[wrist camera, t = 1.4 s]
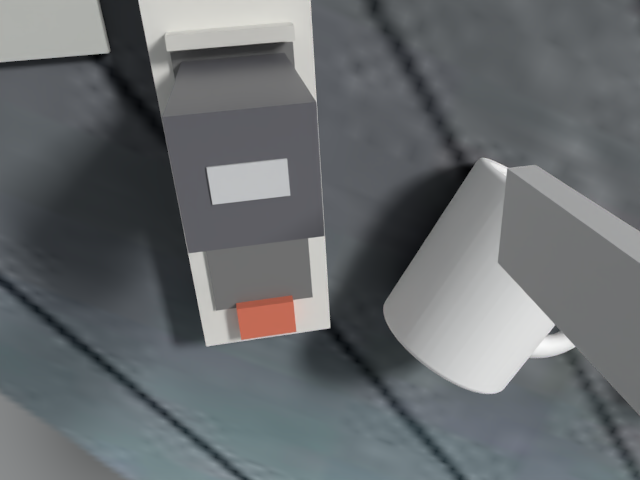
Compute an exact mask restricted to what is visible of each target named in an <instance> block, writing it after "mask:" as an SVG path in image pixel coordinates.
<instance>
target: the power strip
mask: <svg viewBox="0 0 640 480" xmlns="http://www.w3.org/2000/svg"><path fill="white" fill-rule="evenodd" d="M138 2H139V7H140V12H141V17H142V22H143V27H144V32H145V37H146V42H147V47H148V53H149V58H150V63H151V68H152V73H153V78H154V83H155V88H156V93H157V98H158V103H159V108H160V114H161V119H162V115H163V112H164V109H165V106H166V104H167V101H168V98H169V95H170V92H171V90H172V87H173V84H174V81H175V78H176V76H177V73H178V70H179V67H180V64H181V62H183V61H195V60H206V59H217V58H229V57H240V56H252V55H263V54H275V53H285V54H286V56H287V57H288V59H289V60H290V62H291V63H292V65H293V67H294V68H295V70H296V71H297V73H298V74H299V76H300V77H301V79H302V81H303V82H304V84H305V85H306V87H307V88H308V90H309V91H310V93H311V94H312V96H313V98H314V99H315V101H316V105H317V99H316V83H315V67H314V50H313V34H312V18H311V1H310V0H138ZM317 121H318V116H317ZM162 124H163V121H162ZM163 129H164V126H163ZM164 134H165V131H164ZM318 138H319V132H318ZM165 139H166V137H165ZM166 144H167V142H166ZM167 149H168V147H167ZM168 154H169V152H168ZM319 154H320V149H319ZM169 159H170V157H169ZM170 164H171V162H170ZM171 169H172V167H171ZM320 170H321V165H320ZM172 175H173V172H172ZM173 180H174V177H173ZM174 185H175V182H174ZM321 187H322V181H321ZM175 190H176V187H175ZM176 195H177V193H176ZM177 200H178V198H177ZM322 203H323V198H322ZM178 205H179V203H178ZM179 210H180V208H179ZM180 215H181V213H180ZM323 219H324V214H323ZM181 220H182V218H181ZM182 225H183V223H182ZM183 231H184V228H183ZM184 236H185V233H184ZM185 241H186V238H185ZM186 246H187V244H186ZM187 251H188V249H187ZM188 256H189V261H190V266H191V271H192V276H193V281H194V286H195V292H196V297H197V302H198V307H199V312H200V317H201V322H202V327H203V332H204V337H205V342H206V346H212V345H219V344H226V343H233V342H240V341H246V340H253V339H260V338H267V337H274V336H281V335H287V334H294V333H301V332H308V331H315V330H322V329H328V328H330V312H329V296H328V280H327V263H326V247H325V231H324V236H322V237H314V238H306V239H298V240H290V241H282V242H274V243H267V244H259V245H251V246H243V247H235V248H227V249H219V250H211V251H203V252H196V253H188Z"/></svg>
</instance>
